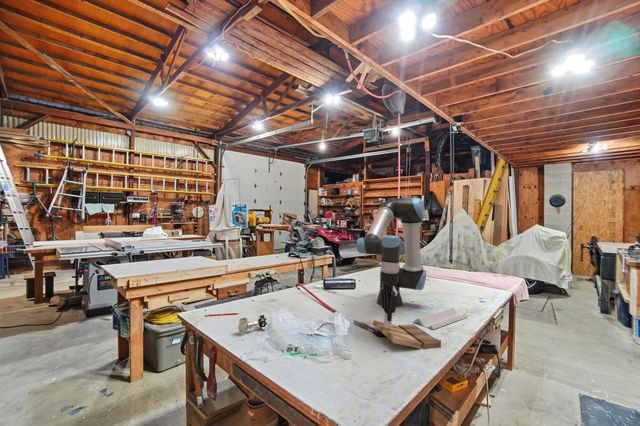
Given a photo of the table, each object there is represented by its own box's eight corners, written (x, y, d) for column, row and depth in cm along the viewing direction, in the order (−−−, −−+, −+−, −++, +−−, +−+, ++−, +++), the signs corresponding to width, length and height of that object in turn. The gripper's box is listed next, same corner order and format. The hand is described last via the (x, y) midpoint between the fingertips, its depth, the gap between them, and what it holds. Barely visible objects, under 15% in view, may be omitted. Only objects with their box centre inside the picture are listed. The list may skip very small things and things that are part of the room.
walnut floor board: (398, 329, 133) (398, 324, 133) (413, 328, 135) (413, 323, 135) (423, 348, 114) (423, 343, 114) (440, 347, 116) (440, 341, 116)
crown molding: (433, 331, 134) (433, 323, 134) (411, 323, 143) (411, 316, 144) (467, 318, 152) (467, 311, 152) (446, 312, 162) (446, 306, 162)
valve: (241, 338, 121) (266, 331, 129) (242, 322, 121) (267, 316, 129) (235, 332, 126) (260, 326, 134) (235, 317, 126) (260, 312, 134)
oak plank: (372, 324, 130) (373, 319, 130) (395, 329, 133) (396, 325, 133) (393, 342, 111) (395, 337, 111) (420, 348, 113) (421, 343, 113)
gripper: (375, 269, 127) (372, 322, 126) (388, 274, 114) (386, 334, 114) (390, 269, 129) (388, 322, 128) (405, 274, 116) (403, 333, 115)
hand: (387, 327), depth 121 cm, fingers closed
